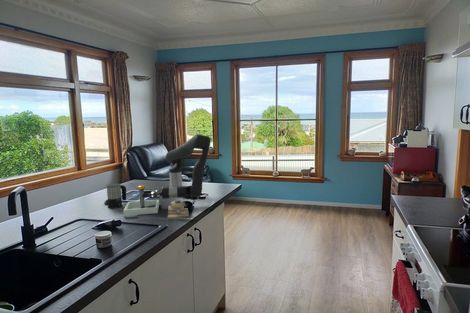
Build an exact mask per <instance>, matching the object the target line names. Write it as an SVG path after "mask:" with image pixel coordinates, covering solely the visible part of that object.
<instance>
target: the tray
mask: <svg viewBox="0 0 470 313" xmlns="http://www.w3.org/2000/svg"><path fill="white" fill-rule="evenodd" d="M150 206H152V207H150ZM153 206H154V207H153ZM159 207H160V199H150V200H148V199H147V200H145V208H140V200H135V201H128V202H127V203H126V205H125V207H124V208H123V218H134V217H137V216H138V215H147V214H148V215H150V214H158V213H159Z"/></svg>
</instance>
